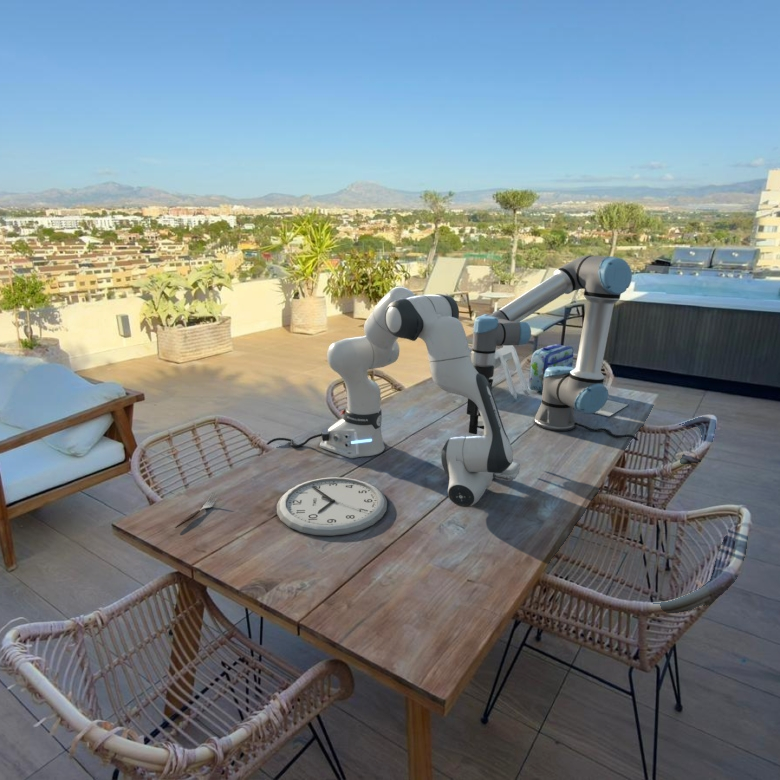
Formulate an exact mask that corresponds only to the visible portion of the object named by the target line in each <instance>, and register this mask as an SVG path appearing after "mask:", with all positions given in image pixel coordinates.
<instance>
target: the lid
mask: <svg viewBox="0 0 780 780" xmlns="http://www.w3.org/2000/svg"><path fill="white" fill-rule="evenodd" d="M468 422H470V419H469V421H468ZM478 426H484V424H483V421H482V418H481V416H478Z"/></svg>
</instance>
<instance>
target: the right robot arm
mask: <svg viewBox="0 0 780 780" xmlns="http://www.w3.org/2000/svg"><path fill="white" fill-rule="evenodd" d="M632 278H633V273H632V269H631V266H630V265H629V263H628V262H627V261H626V260H625V259H623V258H621V257H616V256H606V255H605V256H603V255H595V254H594V255H593V254H588V255H583V256H579V257H577V258H575V259H573V260H571V261H569V262H568V263H565V264H564V265H562V266H560V267H559V268H557V269H556V270H554V271H553V274H552V275H551V276H550V277H548V278H547V279H546V280H544V281H542V282H541V283H539V284H537V285H536V286H534V287H532V288H531V289H530V290H528V291H527V292H524V293H523V294H522V295H520V296H518V297H517V298H515V299H513V300H512V301H510V302H509V303H508V304H506V305H504V306H502V307H501V308H499V309H498V310H495V311H496V312H495V313H493V312H492V313H484V314H482V315H479V316H477V317H476V318H474V323H473V328H472V346H471V347H472V353H471V355H472V359H471V361H472V364H473V366H474V367H475V369H476V370H477V372H478V373H479V374H482V375H484V376H485V378H486V379H487V381H488V383H489V386H490V388H491V391H492V390H493V389H492V388H493V383H494V379H493V378H492V377H494V374H495V373H494V372H495V369H494V366H493V364H495V352H496V350H497V347H501V346H502V347H503V346H504V345H513V346H521V345H526V344H528V343H529V342H530V340H531V337H532V328H531V326H530V324H529V323H528V322H526V321H523V320H525V319H526V318H528V317H529V316H531V315H533V314H534V313H536V312H538V311H539V310H540V309H542V308H544V307H545V306H547V305H549V304H550V303H551V302H554V301H555V300H556V299H558V298H559V297H561V296H563V295H564V294H565V295H569V294H571V293H573V292H575V291H577V290H583V297H584V298H585V300H586V307H585V313H584V317H583V324H582V328H581V335H580V340H579V345H578V351H577V355H576V356H577V357H576V362H575V367H573V366H572V367H565V366H556V367H549V368H547V369H546V370H545V374H544V381H543V391H542V392H541V393H542V394H541V402H540V405H539V407H538V410H537V411H536V413H535V416H534V424H535V425H536V426H537V427H539V428H542V429H544V430H549V431H556V432H567V431H572V430H574V429H575V428H576V426H578V427H580V428H583V429H584V430H588V431H590V432H606V433H608V435H610V436H611V437H614V438H617V439H618V438H620V439H621V438H632V439H633V440H635V441H637V442H639V438H638V437H637V436H635V435H633V434H629V433H625V434H615V433H612V430H610V429H608V428H603V427H600V428H599V427H598V428H592V427H589V426H586V425H584V424H582V423H579V422H576V418H575V417H576V416H575V413H574V409H575V410H576V411H577V412H580V413H584V414H587V415H590V414H596V413H595V412H597V411H599V410H600V408H602V407H603V406H604V405H605V403H606V401H607V400H609V390H608V388H607V387H606V386H605V385H604V381H605V375H604V374H603V373H602V368H603V362H604V358H605V352H606V346H607V341H608V336H609V331H610V326H611V321H612V316H613V310H614V305H615V303H617V302H618V301H619V300H620V299H621V295H622V294H623V293H625V292H626V291H627V290H628V289H629V288H630V286H631V283H632V280H633V279H632ZM492 392H493V391H492ZM466 415H469V420H470V422H469V421H468V422H469V424H468V433H469V434H473V435H477V434H478V429H481V430H484V426H478V416H481V415H480V412H479V409H478V407H477V405H476V404H475V403H474V402H473V401H472V400H470V399H468V398H467V405H466Z"/></svg>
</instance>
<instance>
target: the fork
mask: <svg viewBox="0 0 780 780" xmlns="http://www.w3.org/2000/svg"><path fill="white" fill-rule="evenodd" d="M219 496H220V494H218V493H213V492H212V493H211V494H210V497H208V500H207V501H206V502H205V503H204V504H203V505H202V507H201V508H200V509H198V510H196V511H194V512H193V513H191V514H189V515H188V516H187V517H185V518H184V519H183V520H182V521H181V522H179V523H178V524H177V525H175V527H174V528H175V529H177V528H179V527H180V526H182V525H184V524H185V523H187V522H189V521H190V520H192V519H194V517H196V516H197V515H198V514H199V513H201V511H203V510H204V509H210V508H212V507H213V506H214V505H215V504H216V502H217V500H218V498H219Z"/></svg>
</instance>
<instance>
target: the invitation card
mask: <svg viewBox="0 0 780 780" xmlns="http://www.w3.org/2000/svg"><path fill="white" fill-rule="evenodd" d="M628 406H629V404H627V403H623V402H618V401H614V400H609V399H607V401H606V403H605V405H604V406H603V407H602V408H600V410H599V411H597V412H595V413H594V414H596V415H600V416H604V417H608V418H609V417H611V416H613V415H614V414H616V413H617V412H619V411H621V410H623V409H624V408H626V407H628Z"/></svg>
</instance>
